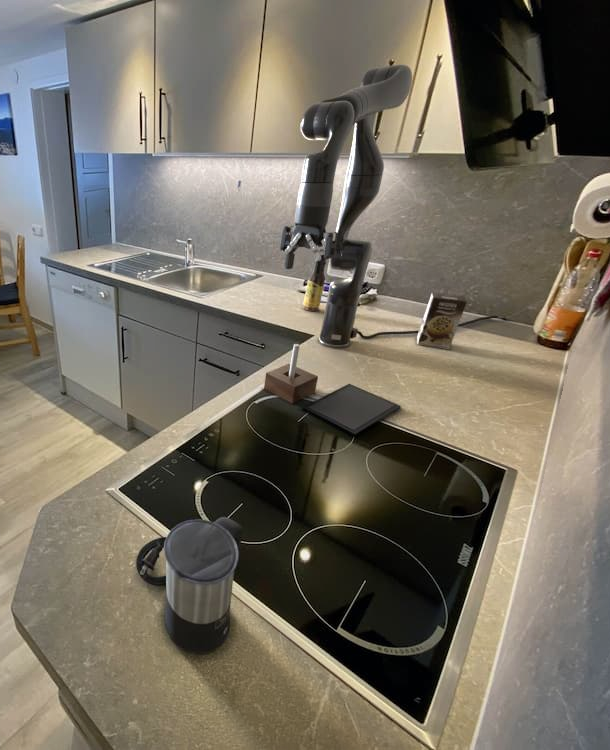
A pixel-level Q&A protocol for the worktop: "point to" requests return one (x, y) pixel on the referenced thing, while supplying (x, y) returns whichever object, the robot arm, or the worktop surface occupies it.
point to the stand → (290, 383)
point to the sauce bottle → (314, 291)
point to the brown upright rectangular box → (441, 320)
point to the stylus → (294, 360)
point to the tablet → (351, 409)
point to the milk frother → (196, 580)
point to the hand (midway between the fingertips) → (302, 271)
